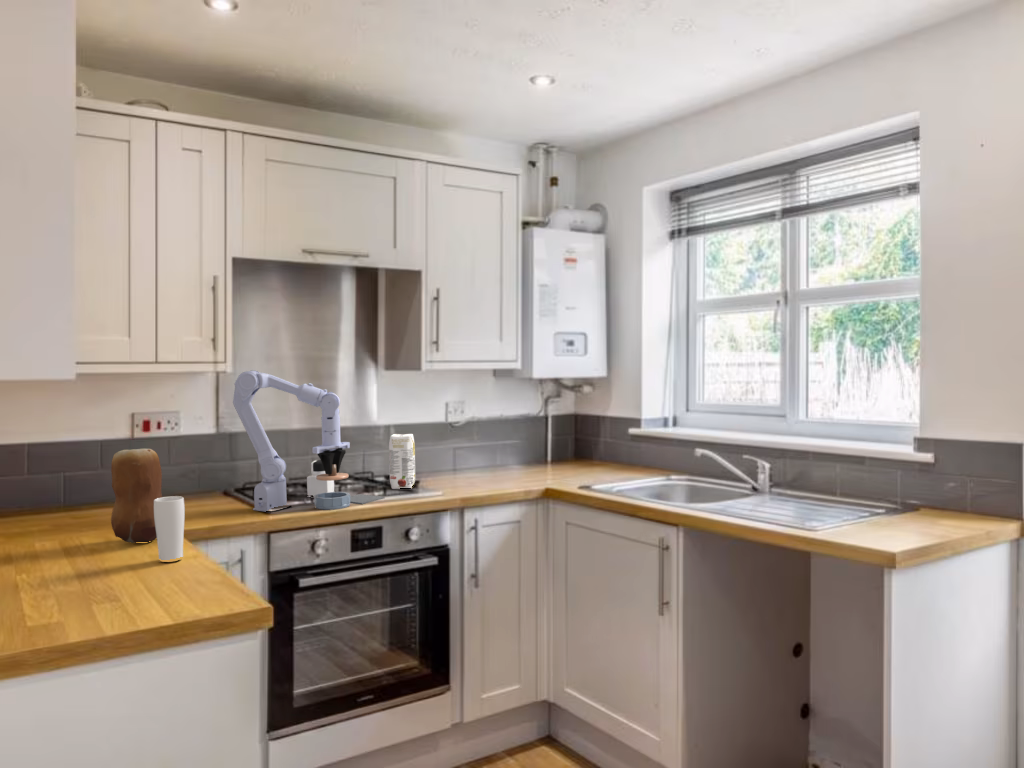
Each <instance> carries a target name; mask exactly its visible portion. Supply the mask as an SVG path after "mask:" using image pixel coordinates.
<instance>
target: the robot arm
mask: <svg viewBox="0 0 1024 768" xmlns="http://www.w3.org/2000/svg"><path fill="white" fill-rule="evenodd" d="M233 384H234V390H233V398H232V399H233V400H232V403H233V407H234V410H235V412H236V413H237V415H238V417H239V419H240V421H241V423H242V425H243V428H244V430H245V431H246V433H247V435H248V438H249V440H250V442H251V444H252V446H253V448H254V450H255V452H256V454H257V459H258V463H259V465H260V474H261V475H260V476H262V479H261V482H259V483H257V484H256V485H255V486H254V489H253V490H254V491H253V499H254V500H253V501H254V503H253V504H254V507H253V508H252V510H253V511H259V512H266V511H268V510H269V509H271V508H274V507H278V506H283V505H286V504H287V505H288V503H287V501H288V499H287V477H285V475H284V474H285V472H286V470H287V464H286V461H285V460H284V459H283V458H281V456H279V455H278V452H277V451H276V450H275V449H274V448H273V445H272V443H271V442H270V441H271V440H270V439H269V437H268V436H267V433H266V431H265V428H264V426H263V425H262V423H261V421H260V419H259V416H258V415H257V412H256V410H255V409H254V407H253V404H252V402H253V400H254V397H255V394H256V393H257V392H258V391H259V390H260V389H266V388H273V389H275V390H276V389H277V390H278V391H282V392H285V393H288V394H292V395H295V396H296V398H297V400H298V401H299V402H301V403H305V404H308V405H310V406H313V407H316V408H319V407H320V409H321V418H320V419H321V444H319V445H317V446H313V447H312V448H311V449H312V454H316V455H317V456H318V458H319V460H321V461H322V464H323V466H324V470H325V473H326V474H329V475H331V474H332V464H336V470H337V473H340V468H341V465H342V462H343V459H344V457H345V455H346V453H347V452H346V449H350V448H351V447H350V446H351V445H350V444H351V442H350V441H341V439H342V438H341V417H340V408H339V406H340V404H341V399H340V397H339V396H338V395H337V394H336V393H335V392H333V391H329V392H328V389H326V388H324V389H322V388H319V387H316V386H314V384H313V383H310V382H309V383H308V384H307V383H303V384H300V385H298V384H297V383H293V382H291V381H288V380H286V379H284V378H281V377H278V376H275V375H273V374H271V373H267V372H262V371H261V372H260V371H258V370H253V369H252V370H248V371H247V370H246V371H242V372H241V373H239V375H238V377H237V378H236V380H235V382H234V383H233ZM266 513H267V512H266Z"/></svg>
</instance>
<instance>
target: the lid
mask: <svg viewBox="0 0 1024 768" xmlns="http://www.w3.org/2000/svg"><path fill="white" fill-rule="evenodd" d="M348 478H349V473H345V472H339V473H337V470H336V464H332V474H331V475H329V474H321V475H317V476H316V479H317V480H322V481H331V480H334V481H341V480H346V479H348Z"/></svg>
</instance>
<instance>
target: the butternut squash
mask: <svg viewBox="0 0 1024 768" xmlns="http://www.w3.org/2000/svg"><path fill="white" fill-rule="evenodd" d="M110 471H111V488H112V490H113V492H114V496H115V502H114V504H113V507H112V512H111V517H110V518H111V519H110V521H111V528H112V530H113V534H114V536H115V537H116V538H120V539H121V540H122V541H124V542H127V543H130V542H131V543H130V544H137V543H136V542H149V541H152V540H154V541H155V540H157V536H156V529H155V521H154V500H155V499H157V498H162V497H163V494H162V485H163V483H162V480H163V471H162V466H161V461H160V457H159V455H158V453H157V452H156V451H155V450H154V449H152V448H137V449H136V448H134V449H122V450H119V451H117V452H115V453H114V454H113V457H112V460H111V469H110ZM149 543H150V542H149Z"/></svg>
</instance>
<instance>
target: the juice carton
mask: <svg viewBox="0 0 1024 768" xmlns="http://www.w3.org/2000/svg"><path fill="white" fill-rule="evenodd" d="M415 449H416V445H415V437H414V434H413V433H406V434H400V433H393V434H392V435H390V436H389V443H388V452H389V453H388V454H389V457H388V459H389V482H390V483H389V484H390V487H391V489H392V490H401V489H400V488H411V489H412V488H413V487H414V486H415V482H416V450H415ZM413 485H414V486H413ZM412 486H413V487H412Z"/></svg>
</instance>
